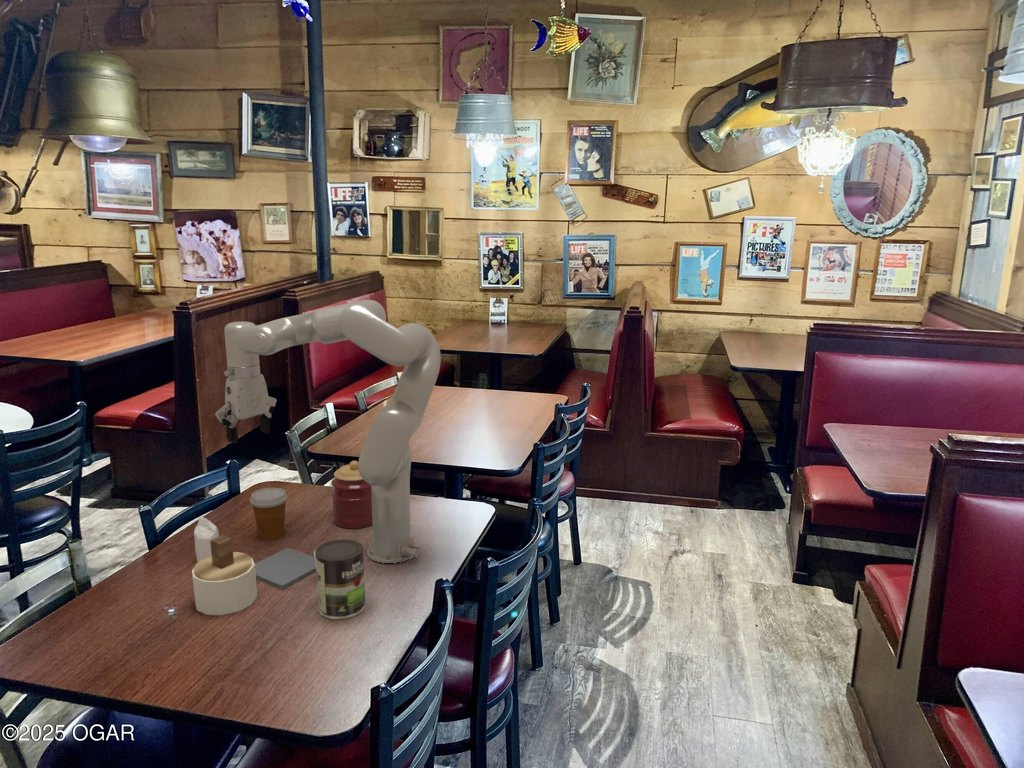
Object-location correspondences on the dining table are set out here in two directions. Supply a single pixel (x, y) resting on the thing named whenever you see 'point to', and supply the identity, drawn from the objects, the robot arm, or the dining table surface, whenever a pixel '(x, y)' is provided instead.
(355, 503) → the canister
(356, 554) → the coffee can
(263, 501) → the disposable coffee cup
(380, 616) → the dining table surface
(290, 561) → the mat
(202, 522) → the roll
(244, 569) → the lid
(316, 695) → the dining table surface
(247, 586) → the bowl
